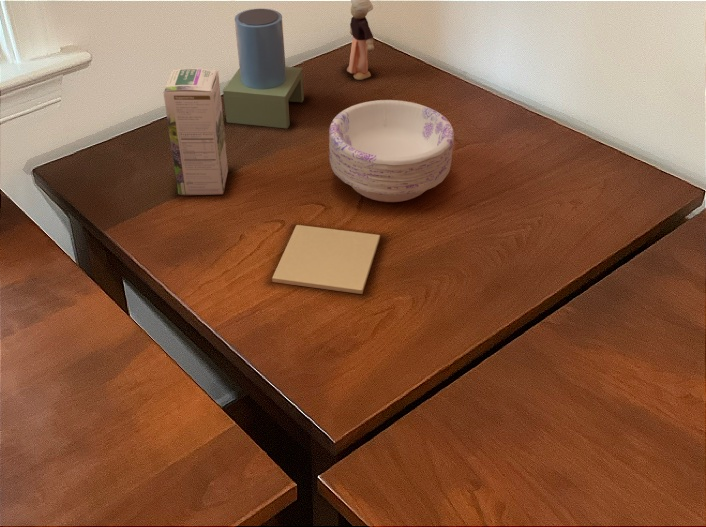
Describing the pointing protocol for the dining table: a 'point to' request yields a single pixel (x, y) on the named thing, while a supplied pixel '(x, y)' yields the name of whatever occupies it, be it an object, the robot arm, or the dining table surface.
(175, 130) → the syrup box
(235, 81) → the shelf
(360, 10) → the grandmother figurine
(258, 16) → the cup
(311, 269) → the mat
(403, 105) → the paper bowls
